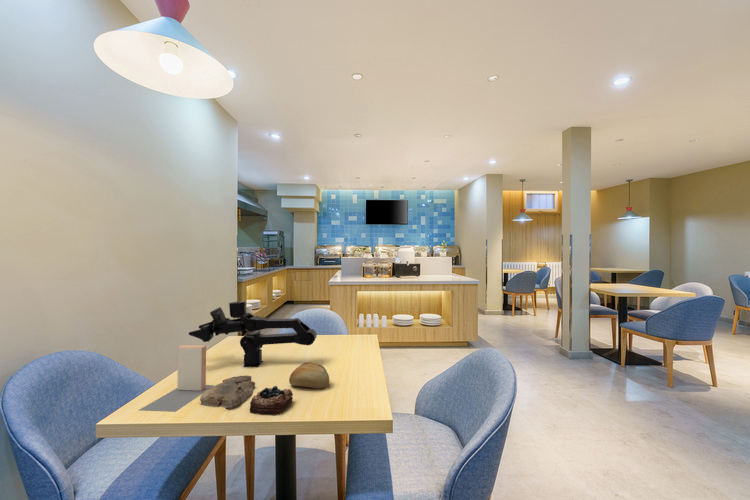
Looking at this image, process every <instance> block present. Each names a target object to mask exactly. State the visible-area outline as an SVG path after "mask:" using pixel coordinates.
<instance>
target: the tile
mask: <svg viewBox="0 0 750 500" xmlns="http://www.w3.org/2000/svg"><path fill="white" fill-rule="evenodd" d="M206 377H207V345H187V344H186V345H180V346H178V347H177V387H176V388H177V390H189V391H202V390H204V389H205V388H206V385H207V381H206V380H207V378H206Z"/></svg>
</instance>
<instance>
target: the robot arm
mask: <svg viewBox="0 0 750 500" xmlns="http://www.w3.org/2000/svg"><path fill="white" fill-rule="evenodd" d="M246 305H247V301H241V300H240V301H239V300H238V301H232V302H229V303H228V308H229V316H230V318H229V317H226V315H225V313H224V311H223V309H222V308H221V307H216V308H215V309H213V310H211V311H209V314H210V316H211V317H212V320H211V321H208V322H206V323H203V324H200V325H198V329H196V330H193V331H189V332H188V336H191V337H194V338H196V339H199V340H201V341H202V342H203V343H208V342H210V341H211V340H212V339H213V338H214V337H215V336H219V335H223V334H224V335H228V334H232V333H241V338H240V340H239V345H240V347H241V348H242V349H243V352H244V354H243V364H244V365H243V368H248V367H249V368H251V367H255V368H257V367H260V366H261V365H262V364H263V363H264V360H262V359H263V352H262V351H263V350H262V348H263V345H264V346H265V345H280V344H283V345H284V344H297V345H301V346H311V345H313V344H314V342H315V341H316V339H317V337H318V336H317V335H318V333H317V332H316V330H315V329H313V328H310V327H309V325H307V324H306V323H304V322H303V321H302V320H301V319H300V318H298V317H295V318H267V317H264V316H259V315H253V314H252V313H251V312H247V306H246ZM231 318H232V319H231ZM266 329H293V330H294V332H291V333H290V332H288V333H276V334H275V333H273V334H271V333H270V334H263V333H261V332H262V331H261V330H266Z"/></svg>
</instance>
